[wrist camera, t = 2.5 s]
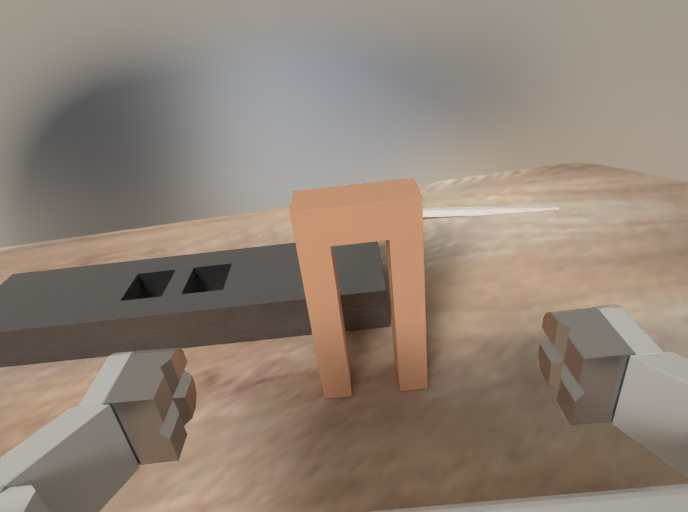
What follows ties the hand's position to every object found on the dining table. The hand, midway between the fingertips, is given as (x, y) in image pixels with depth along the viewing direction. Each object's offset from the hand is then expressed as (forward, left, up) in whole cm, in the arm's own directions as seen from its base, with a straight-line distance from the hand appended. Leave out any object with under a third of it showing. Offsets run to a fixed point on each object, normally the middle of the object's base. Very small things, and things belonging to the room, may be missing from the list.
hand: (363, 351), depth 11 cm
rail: (-8, -24, -13) cm, 28 cm away
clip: (-10, -8, -13) cm, 18 cm away
